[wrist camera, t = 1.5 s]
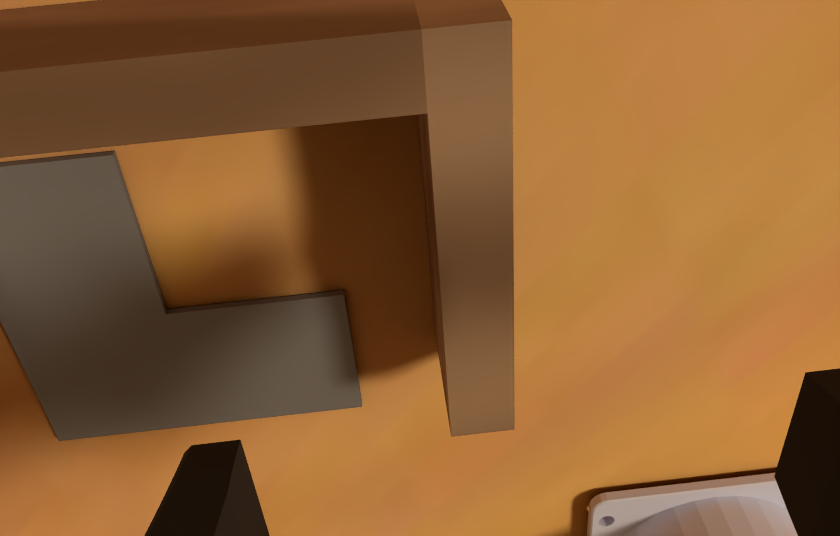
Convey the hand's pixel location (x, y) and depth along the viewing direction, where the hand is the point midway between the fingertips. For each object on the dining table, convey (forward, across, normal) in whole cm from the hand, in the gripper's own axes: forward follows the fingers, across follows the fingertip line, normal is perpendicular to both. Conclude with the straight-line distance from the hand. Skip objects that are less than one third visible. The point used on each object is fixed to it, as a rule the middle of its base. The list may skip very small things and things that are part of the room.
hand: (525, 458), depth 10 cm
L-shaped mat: (+10, +7, +4) cm, 13 cm away
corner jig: (+10, +4, +1) cm, 11 cm away
